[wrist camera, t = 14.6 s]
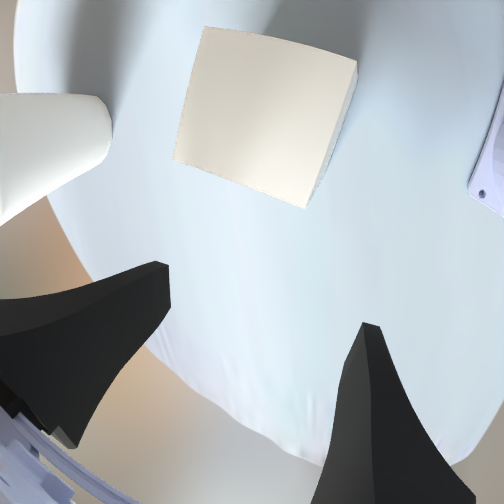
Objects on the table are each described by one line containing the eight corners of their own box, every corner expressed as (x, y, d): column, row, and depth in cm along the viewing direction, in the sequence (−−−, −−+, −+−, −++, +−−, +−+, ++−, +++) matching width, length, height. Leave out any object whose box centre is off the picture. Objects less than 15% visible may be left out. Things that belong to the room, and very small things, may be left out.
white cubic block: (357, 80, 14) (357, 61, 8) (323, 176, 17) (304, 209, 11) (256, 50, 15) (204, 26, 9) (230, 142, 18) (172, 159, 12)
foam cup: (72, 65, 19) (-63, 85, 8) (142, 97, 18) (-34, 127, 7) (51, 157, 24) (-61, 204, 13) (109, 203, 23) (-20, 277, 12)
